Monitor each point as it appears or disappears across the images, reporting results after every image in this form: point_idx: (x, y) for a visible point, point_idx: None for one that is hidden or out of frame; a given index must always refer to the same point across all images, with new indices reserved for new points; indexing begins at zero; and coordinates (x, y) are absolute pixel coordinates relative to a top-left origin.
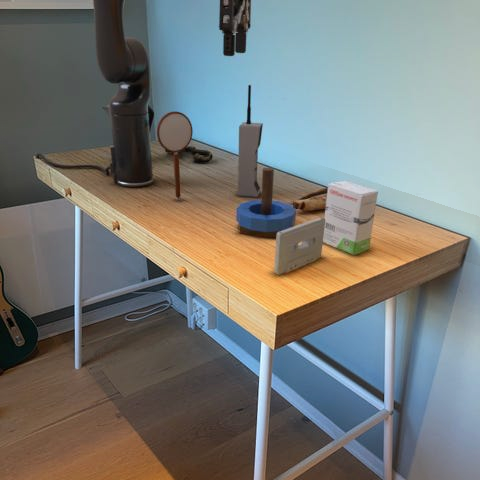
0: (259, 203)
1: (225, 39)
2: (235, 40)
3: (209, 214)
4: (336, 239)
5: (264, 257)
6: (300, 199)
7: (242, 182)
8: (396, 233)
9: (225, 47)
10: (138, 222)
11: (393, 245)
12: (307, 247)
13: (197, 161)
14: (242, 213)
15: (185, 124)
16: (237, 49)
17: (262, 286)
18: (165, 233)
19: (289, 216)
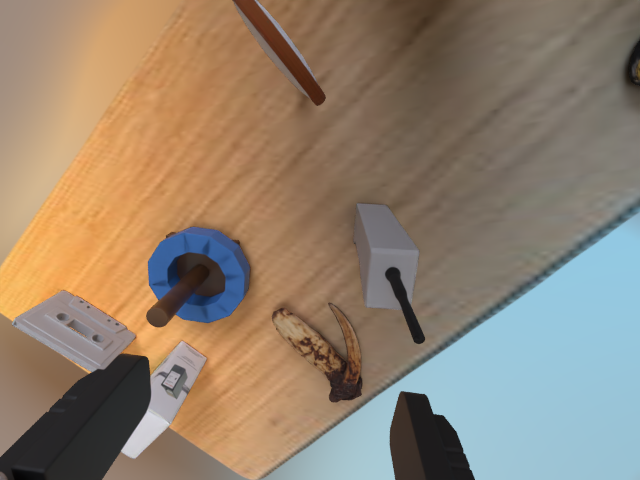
0: (220, 267)
1: (22, 446)
2: (418, 457)
3: (241, 167)
4: (161, 363)
5: (105, 274)
6: (335, 315)
7: (357, 218)
8: (242, 421)
9: (68, 399)
10: (158, 37)
11: (201, 414)
12: (87, 336)
13: (636, 45)
14: (161, 245)
15: (293, 82)
16: (401, 414)
17: (27, 279)
18: (128, 110)
19: (177, 314)
